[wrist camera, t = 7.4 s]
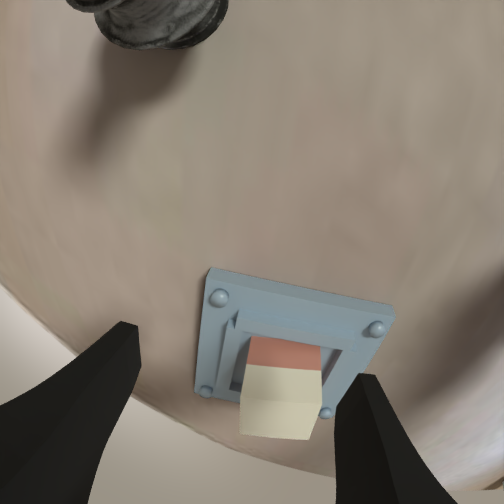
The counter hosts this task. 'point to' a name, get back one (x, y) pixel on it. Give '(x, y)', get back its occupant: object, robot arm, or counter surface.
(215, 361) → the base plate
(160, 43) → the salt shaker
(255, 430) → the cream and red block
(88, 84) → the counter surface
